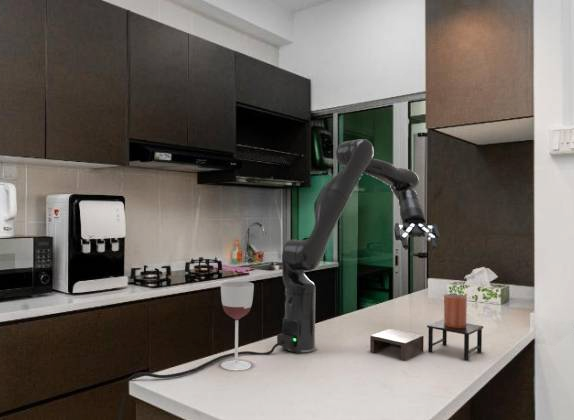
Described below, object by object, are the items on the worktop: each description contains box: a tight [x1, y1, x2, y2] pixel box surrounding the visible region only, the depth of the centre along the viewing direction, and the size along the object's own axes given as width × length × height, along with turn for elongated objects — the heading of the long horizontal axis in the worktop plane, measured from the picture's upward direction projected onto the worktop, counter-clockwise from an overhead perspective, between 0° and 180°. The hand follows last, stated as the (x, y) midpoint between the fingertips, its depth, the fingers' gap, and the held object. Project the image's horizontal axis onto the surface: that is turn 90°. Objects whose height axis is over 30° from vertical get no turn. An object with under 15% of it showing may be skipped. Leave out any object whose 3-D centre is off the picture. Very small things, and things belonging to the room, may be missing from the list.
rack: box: [426, 318, 484, 362], centre depth 143 cm, size 12×12×8 cm
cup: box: [443, 293, 468, 328], centre depth 143 cm, size 6×6×9 cm
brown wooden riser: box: [369, 328, 425, 361], centre depth 142 cm, size 12×11×5 cm
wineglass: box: [220, 281, 255, 371], centre depth 129 cm, size 9×10×22 cm
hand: (420, 248), depth 157 cm, fingers open, 8 cm apart
